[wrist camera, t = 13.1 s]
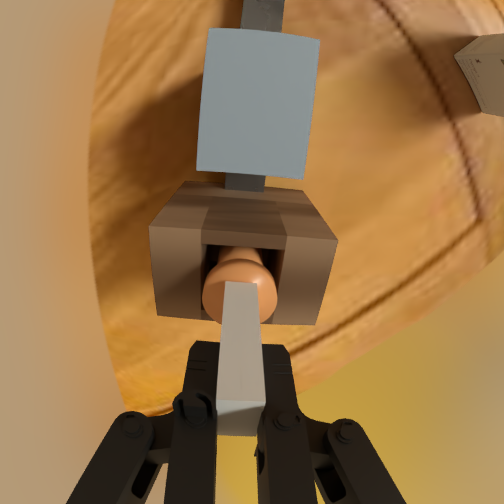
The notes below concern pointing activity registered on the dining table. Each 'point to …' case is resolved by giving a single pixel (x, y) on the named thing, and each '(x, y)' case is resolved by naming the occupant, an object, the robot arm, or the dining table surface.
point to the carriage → (256, 102)
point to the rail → (264, 19)
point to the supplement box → (485, 71)
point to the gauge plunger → (239, 280)
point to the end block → (244, 235)
